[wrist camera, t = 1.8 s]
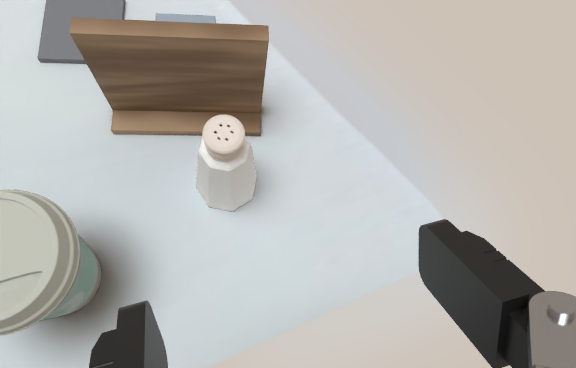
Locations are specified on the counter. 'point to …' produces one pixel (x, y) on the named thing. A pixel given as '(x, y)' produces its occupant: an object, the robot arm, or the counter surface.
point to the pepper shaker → (225, 164)
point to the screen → (175, 72)
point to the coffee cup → (41, 262)
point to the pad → (57, 20)
